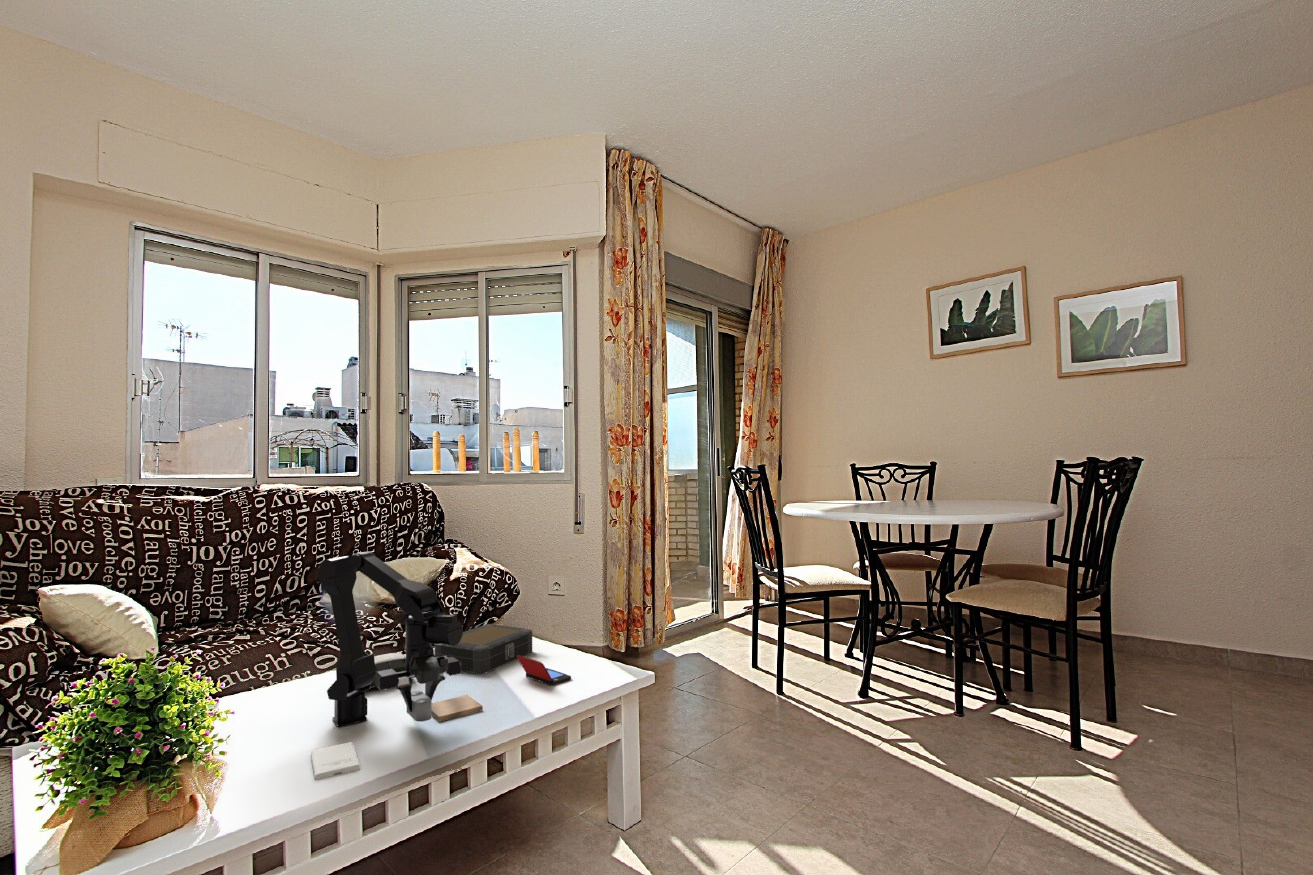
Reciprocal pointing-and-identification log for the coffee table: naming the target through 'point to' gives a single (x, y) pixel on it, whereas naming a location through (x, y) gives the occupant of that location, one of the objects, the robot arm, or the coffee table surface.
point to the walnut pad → (455, 708)
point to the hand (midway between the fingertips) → (418, 709)
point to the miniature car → (390, 663)
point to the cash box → (488, 647)
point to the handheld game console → (541, 672)
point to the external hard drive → (334, 760)
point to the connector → (420, 706)
